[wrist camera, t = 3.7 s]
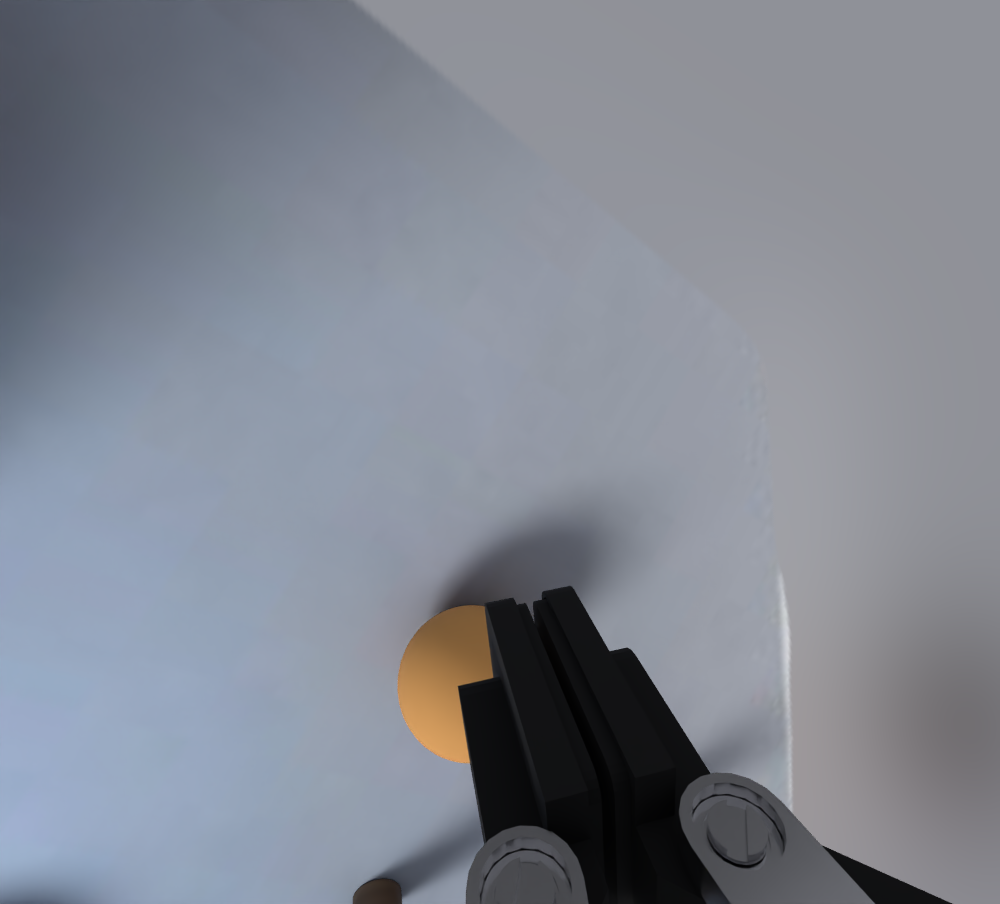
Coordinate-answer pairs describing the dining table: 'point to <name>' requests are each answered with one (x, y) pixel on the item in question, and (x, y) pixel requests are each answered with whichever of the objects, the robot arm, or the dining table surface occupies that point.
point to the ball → (443, 677)
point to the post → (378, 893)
